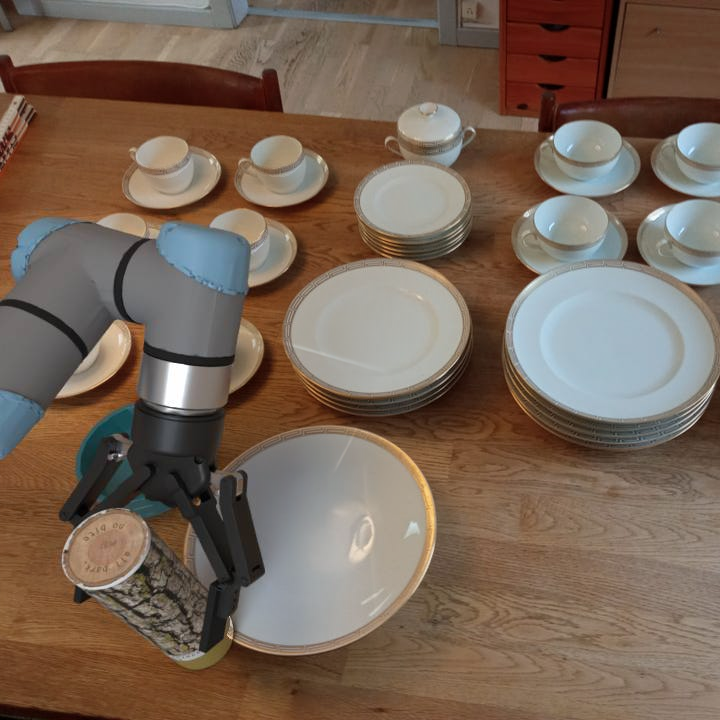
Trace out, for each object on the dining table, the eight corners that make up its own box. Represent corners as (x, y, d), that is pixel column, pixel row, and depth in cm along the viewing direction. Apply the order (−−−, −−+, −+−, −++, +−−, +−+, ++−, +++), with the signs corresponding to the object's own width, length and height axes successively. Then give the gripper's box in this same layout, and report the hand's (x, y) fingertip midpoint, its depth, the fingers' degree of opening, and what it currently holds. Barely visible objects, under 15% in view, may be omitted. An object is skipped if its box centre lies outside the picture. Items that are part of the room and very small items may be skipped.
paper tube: (235, 665, 77) (143, 579, 57) (169, 676, 77) (54, 594, 57) (237, 602, 81) (152, 502, 62) (175, 612, 81) (69, 514, 61)
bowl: (67, 499, 90) (49, 482, 86) (136, 407, 98) (123, 388, 94) (166, 534, 87) (151, 518, 83) (229, 436, 95) (218, 417, 91)
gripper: (328, 432, 65) (287, 645, 69) (96, 361, 71) (69, 563, 74) (286, 451, 58) (242, 689, 61) (31, 371, 63) (4, 594, 67)
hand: (148, 620), depth 68 cm, fingers open, 13 cm apart
